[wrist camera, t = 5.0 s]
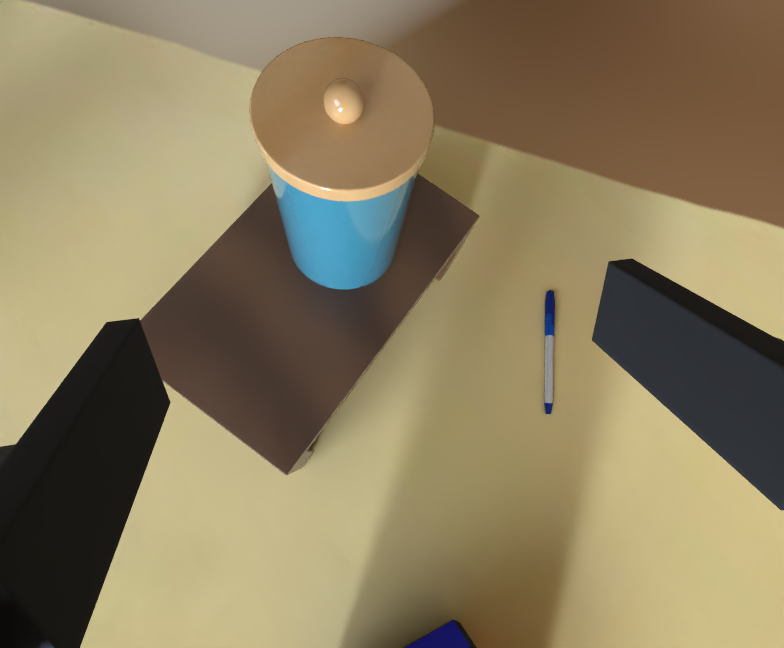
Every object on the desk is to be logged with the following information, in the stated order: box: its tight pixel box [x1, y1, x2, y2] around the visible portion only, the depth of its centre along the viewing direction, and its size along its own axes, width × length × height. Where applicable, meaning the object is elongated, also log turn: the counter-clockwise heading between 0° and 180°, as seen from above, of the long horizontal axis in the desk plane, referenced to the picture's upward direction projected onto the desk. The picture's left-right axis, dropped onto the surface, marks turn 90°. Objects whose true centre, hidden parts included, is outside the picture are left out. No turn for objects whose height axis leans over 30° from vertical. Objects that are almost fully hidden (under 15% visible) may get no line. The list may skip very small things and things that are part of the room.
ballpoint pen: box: [544, 290, 555, 414], centre depth 37 cm, size 10×1×1 cm, turn 175°
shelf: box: [140, 173, 479, 475], centre depth 32 cm, size 20×12×9 cm, turn 144°
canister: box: [249, 37, 435, 289], centre depth 22 cm, size 7×7×12 cm
